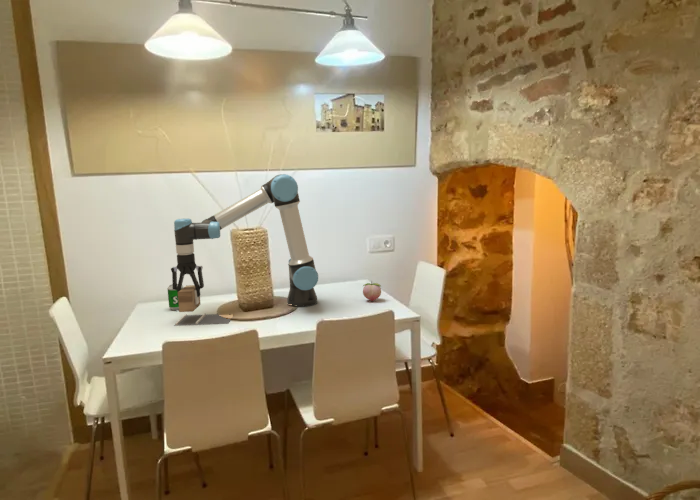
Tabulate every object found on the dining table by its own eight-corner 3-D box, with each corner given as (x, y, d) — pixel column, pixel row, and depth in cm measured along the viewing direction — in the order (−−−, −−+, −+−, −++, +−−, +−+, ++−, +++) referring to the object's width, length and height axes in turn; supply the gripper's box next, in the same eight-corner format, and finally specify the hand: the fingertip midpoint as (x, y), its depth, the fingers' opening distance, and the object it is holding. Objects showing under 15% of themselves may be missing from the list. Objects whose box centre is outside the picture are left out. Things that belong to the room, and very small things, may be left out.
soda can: (168, 311, 250) (166, 287, 248) (169, 307, 257) (167, 284, 255) (184, 309, 252) (182, 286, 250) (185, 305, 259) (183, 282, 257)
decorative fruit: (382, 298, 259) (381, 279, 258) (381, 302, 251) (380, 283, 250) (363, 298, 260) (362, 279, 259) (362, 303, 252) (361, 283, 251)
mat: (235, 314, 241) (235, 311, 240) (228, 324, 225) (228, 321, 225) (184, 316, 240) (184, 313, 240) (173, 326, 225) (173, 324, 224)
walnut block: (193, 311, 226) (191, 291, 224) (179, 312, 226) (177, 291, 224) (200, 304, 238) (198, 285, 236) (187, 304, 238) (185, 285, 236)
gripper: (209, 251, 231) (213, 301, 235) (166, 252, 231) (171, 302, 235) (204, 254, 224) (208, 305, 228) (161, 255, 224) (165, 306, 228)
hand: (189, 303), depth 231 cm, fingers closed on walnut block, 6 cm apart
